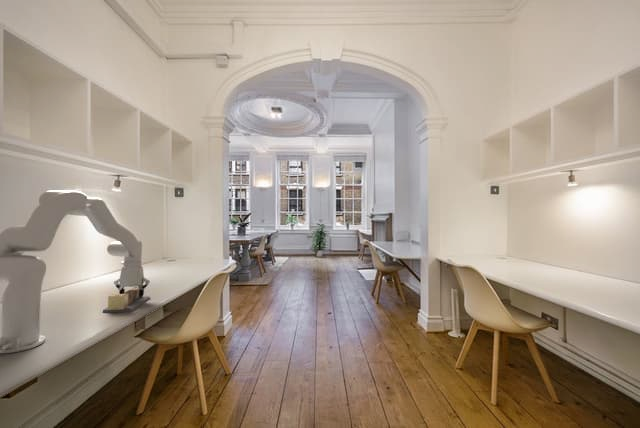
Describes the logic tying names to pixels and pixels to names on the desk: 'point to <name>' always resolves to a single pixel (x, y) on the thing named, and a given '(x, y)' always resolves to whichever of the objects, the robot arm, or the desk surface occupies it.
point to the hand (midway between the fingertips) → (131, 297)
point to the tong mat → (130, 305)
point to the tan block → (117, 301)
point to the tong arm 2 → (133, 295)
